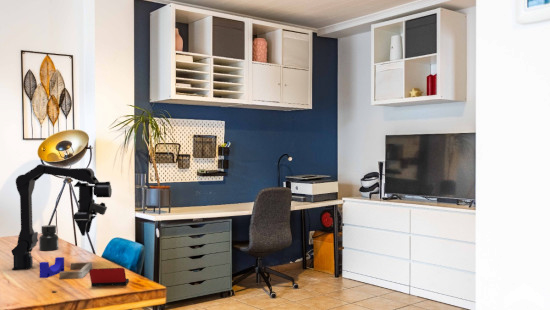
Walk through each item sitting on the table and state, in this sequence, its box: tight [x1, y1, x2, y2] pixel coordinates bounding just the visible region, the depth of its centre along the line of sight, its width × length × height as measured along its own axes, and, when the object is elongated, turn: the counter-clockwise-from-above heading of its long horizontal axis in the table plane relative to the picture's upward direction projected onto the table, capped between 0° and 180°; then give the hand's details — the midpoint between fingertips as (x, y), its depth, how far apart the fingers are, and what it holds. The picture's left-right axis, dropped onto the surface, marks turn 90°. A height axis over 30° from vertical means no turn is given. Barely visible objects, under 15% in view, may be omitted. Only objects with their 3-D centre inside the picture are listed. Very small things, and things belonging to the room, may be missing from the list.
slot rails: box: [58, 262, 93, 280], centre depth 224 cm, size 8×19×2 cm, turn 7°
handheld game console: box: [88, 267, 130, 287], centre depth 204 cm, size 12×11×7 cm
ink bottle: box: [38, 224, 59, 252], centre depth 281 cm, size 10×9×12 cm
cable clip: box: [39, 256, 65, 279], centre depth 223 cm, size 12×4×6 cm, turn 168°
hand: (85, 234), depth 237 cm, fingers open, 9 cm apart
